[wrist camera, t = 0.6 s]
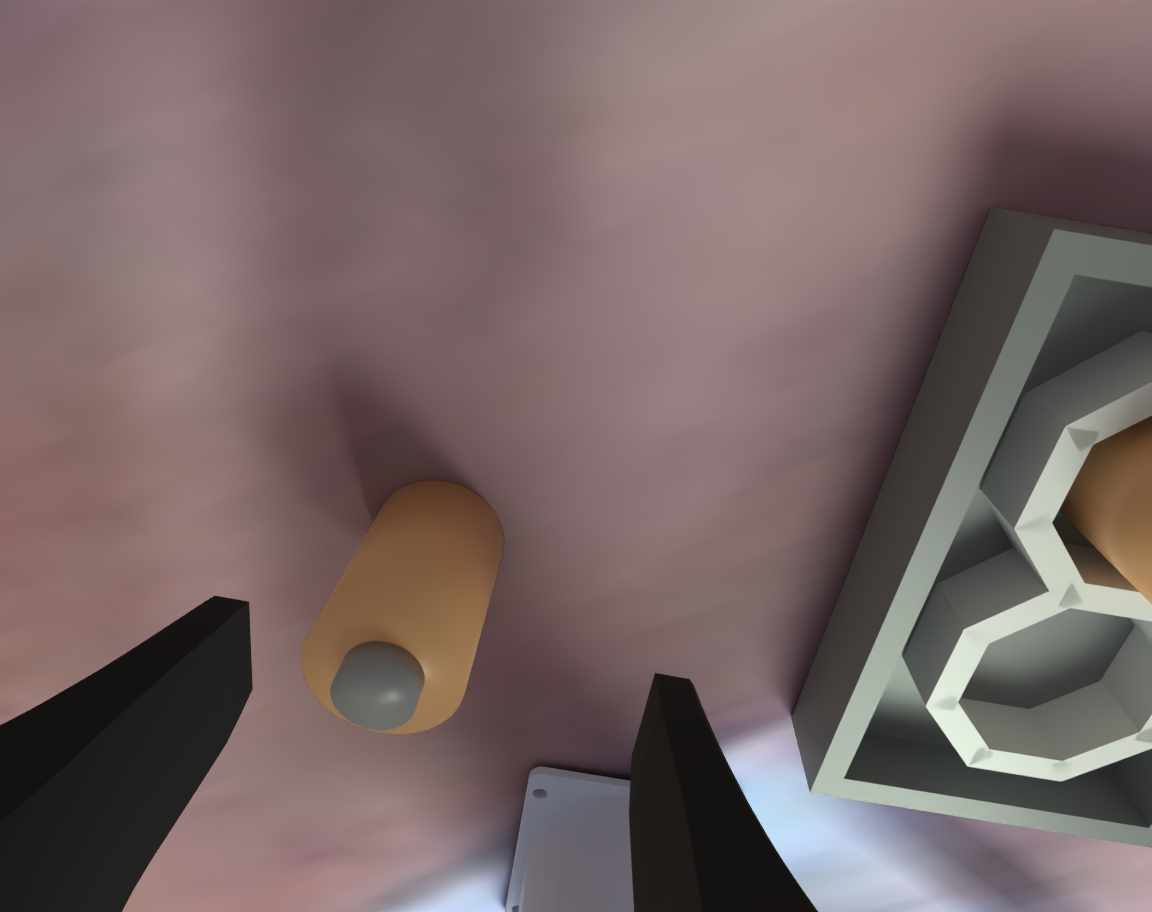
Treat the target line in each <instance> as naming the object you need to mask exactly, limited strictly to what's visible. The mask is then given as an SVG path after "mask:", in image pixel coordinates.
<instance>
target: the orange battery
mask: <svg viewBox="0 0 1152 912" xmlns="http://www.w3.org/2000/svg"><path fill="white" fill-rule="evenodd" d="M503 550H504V532H503V529H502V525H501V523H500V520H499V518H498V516H497V515H496V513H495V512H494V510H493V509H492V508H491V506H490V505H489V504H488V503H487V502H486V501H485V500H484V499H483V498H481V497H480V496H479V495H478V494H476V493H474V492H473V491H471V490H469V489H467V488H465V487H463V486H461V485H458V484H455V483H451V482H446V481H439V480H426V481H419V482H415V483H411V484H409V485H406V486H404V487H402V488H400V489H399V490H397V491H396V492H394V493H393V494H392V495H391V496H390V497H389V498H388V499H387V500H386V502H385V503H384V505H383V506H382V508H381V509H380V511H379V513H378V515H377V516H376V518H375V520H374V521H373V523H372V525H371V527H370V528H369V530H368V532H367V534H366V535H365V537H364V539H363V540H362V542H361V544H360V546H359V547H358V549H357V551H356V552H355V554H354V556H353V558H352V559H351V561H350V563H349V565H348V566H347V568H346V570H345V571H344V573H343V575H342V577H341V578H340V580H339V582H338V584H337V585H336V587H335V589H334V590H333V592H332V594H331V596H330V597H329V599H328V601H327V602H326V604H325V606H324V608H323V609H322V611H321V613H320V615H319V616H318V618H317V620H316V621H315V623H314V625H313V627H312V628H311V630H310V632H309V633H308V635H307V637H306V639H305V641H304V644H303V647H302V651H301V667H302V672H303V675H304V678H305V680H306V683H307V685H308V687H309V688H310V690H311V691H312V693H313V694H314V695H315V697H316V698H317V699H318V700H319V701H320V702H321V703H322V704H323V705H324V706H325V707H326V708H327V709H328V710H329V711H331V712H332V713H333V714H335V715H336V716H338V717H339V718H341V719H343V720H345V721H347V722H348V723H350V724H353V725H355V726H358V727H360V728H363V729H366V730H370V731H374V732H379V733H386V734H411V733H417V732H422V731H425V730H428V729H431V728H433V727H435V726H438V725H439V724H441V723H443V722H444V721H446V720H447V719H448V718H449V717H451V716H452V715H453V714H454V712H455V711H456V710H457V709H458V707H459V706H460V704H461V702H462V700H463V697H464V695H465V691H466V687H467V684H468V680H469V676H470V673H471V669H472V665H473V662H474V658H475V654H476V650H477V647H478V643H479V639H480V636H481V632H482V628H483V625H484V621H485V617H486V613H487V610H488V606H489V602H490V599H491V595H492V591H493V588H494V584H495V580H496V576H497V573H498V569H499V565H500V562H501V558H502V554H503Z"/></svg>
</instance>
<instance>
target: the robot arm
mask: <svg viewBox="0 0 1152 912" xmlns="http://www.w3.org/2000/svg"><path fill="white" fill-rule="evenodd" d="M251 691H252V664H251V639H250V614H249V602H247V601H242V600H236V599H230V598H225V597H219V596H213V597H212V598H210V599H209V600H207V601H205V602H204V603H202V604H201V605H199V606H198V607H196V608H195V609H193V610H191V611H190V612H188V613H187V614H185V615H184V616H182V617H181V618H179V619H178V620H176V621H175V622H173V623H172V624H170V625H169V626H167V627H166V628H164V629H163V630H161V631H159V632H158V633H156V634H155V635H153V636H152V637H150V638H149V639H147V640H146V641H144V642H143V643H141V644H140V645H138V646H136V647H135V648H133V649H132V650H130V651H128V652H127V653H125V654H124V655H122V656H121V657H119V658H117V659H116V660H114V661H113V662H111V663H110V664H108V665H106V666H105V667H103V668H102V669H100V670H98V671H97V672H95V673H93V674H92V675H90V676H88V677H86V678H85V679H83V680H81V681H80V682H78V683H76V684H74V685H73V686H71V687H69V688H67V689H66V690H64V691H62V692H61V693H59V694H57V695H55V696H54V697H52V698H50V699H49V700H47V701H45V702H43V703H42V704H40V705H38V706H36V707H34V708H32V709H31V710H29V711H27V712H25V713H23V714H21V715H19V716H17V717H15V718H14V719H12V720H10V721H8V722H6V723H4V724H2V725H0V912H122V910H123V908H124V906H125V905H126V903H127V901H128V899H129V897H130V895H131V893H132V891H133V890H134V888H135V886H136V885H137V883H138V881H139V880H140V878H141V876H142V874H143V873H144V871H145V869H146V868H147V866H148V864H149V863H150V861H151V860H152V858H153V857H154V855H155V854H156V852H157V850H158V849H159V847H160V846H161V844H162V843H163V841H164V840H165V838H166V837H167V835H168V833H169V832H170V830H171V829H172V827H173V826H174V824H175V823H176V821H177V820H178V818H179V816H180V815H181V813H182V812H183V810H184V809H185V807H186V806H187V804H188V803H189V801H190V800H191V798H192V796H193V795H194V793H195V792H196V790H197V789H198V787H199V786H200V784H201V782H202V781H203V779H204V778H205V776H206V775H207V773H208V772H209V770H210V768H211V767H212V765H213V764H214V762H215V761H216V759H217V757H218V756H219V754H220V753H221V751H222V749H223V748H224V746H225V745H226V743H227V741H228V739H229V737H230V735H231V733H232V731H233V729H234V727H235V725H236V723H237V721H238V719H239V717H240V715H241V713H242V710H243V708H244V706H245V704H246V702H247V700H248V698H249V695H250V693H251ZM505 912H818V911H817V910H816V908H815V907H814V905H813V904H812V903H811V901H810V900H809V898H808V897H807V896H806V894H805V893H804V891H803V890H802V889H801V887H800V886H799V884H798V883H797V881H796V880H795V878H794V877H793V875H792V874H791V872H790V871H789V869H788V868H787V866H786V865H785V863H784V862H783V860H782V859H781V857H780V855H779V854H778V852H777V851H776V849H775V847H774V846H773V844H772V843H771V841H770V839H769V838H768V836H767V834H766V833H765V831H764V829H763V827H762V826H761V824H760V822H759V821H758V819H757V817H756V815H755V814H754V812H753V810H752V808H751V807H750V805H749V803H748V801H747V799H746V797H745V796H744V794H743V792H742V790H741V788H740V786H739V784H738V782H737V780H736V778H735V776H734V774H733V772H732V770H731V768H730V766H729V765H728V763H727V761H726V759H725V756H724V754H723V752H722V750H721V748H720V746H719V744H718V742H717V739H716V737H715V735H714V733H713V731H712V728H711V726H710V724H709V722H708V719H707V717H706V715H705V712H704V710H703V708H702V705H701V703H700V700H699V698H698V695H697V693H696V690H695V687H694V685H693V684H692V682H691V681H690V679H686V678H680V677H674V676H669V675H663V674H657V673H655V675H654V679H653V682H652V686H651V690H650V693H649V697H648V700H647V704H646V707H645V711H644V714H643V718H642V721H641V725H640V728H639V732H638V736H637V739H636V743H635V746H634V750H633V753H632V763H631V780H630V781H629V780H623V779H617V778H610V777H604V776H598V775H592V774H586V773H580V772H573V771H567V770H561V769H555V768H549V767H537V768H534V769H533V770H531V772H530V774H529V778H528V784H527V790H526V795H525V801H524V806H523V812H522V818H521V823H520V829H519V835H518V840H517V846H516V851H515V857H514V863H513V868H512V874H511V880H510V885H509V891H508V897H507V902H506V908H505Z"/></svg>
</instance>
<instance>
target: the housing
mask: <svg viewBox="0 0 1152 912" xmlns="http://www.w3.org/2000/svg"><path fill="white" fill-rule="evenodd" d="M791 719H792V723H793V727H794V731H795V735H796V739H797V743H798V747H799V751H800V755H801V759H802V763H803V767H804V771H805V775H806V779H807V783H808V787H809V791H810V792H811V793H817V794H823V795H830V796H836V797H842V798H848V799H854V800H860V801H867V802H873V803H879V804H885V805H891V806H898V807H904V808H910V809H916V810H922V811H928V812H935V813H941V814H947V815H953V816H959V817H965V818H972V819H978V820H984V821H990V822H996V823H1003V824H1009V825H1015V826H1021V827H1027V828H1033V829H1040V830H1046V831H1052V832H1058V833H1064V834H1070V835H1077V836H1083V837H1089V838H1095V839H1101V840H1108V841H1114V842H1120V843H1126V844H1132V845H1138V846H1145V847H1151V848H1152V234H1151V233H1145V232H1139V231H1133V230H1127V229H1121V228H1116V227H1110V226H1104V225H1098V224H1092V223H1086V222H1080V221H1074V220H1069V219H1063V218H1057V217H1051V216H1045V215H1039V214H1033V213H1027V212H1022V211H1016V210H1010V209H1004V208H998V207H992V206H991V208H990V210H989V213H988V216H987V218H986V221H985V223H984V226H983V228H982V231H981V233H980V236H979V239H978V241H977V244H976V246H975V249H974V251H973V254H972V257H971V259H970V262H969V264H968V267H967V269H966V272H965V274H964V277H963V280H962V282H961V285H960V287H959V290H958V292H957V295H956V297H955V300H954V303H953V305H952V308H951V310H950V313H949V315H948V318H947V321H946V323H945V326H944V328H943V331H942V333H941V336H940V338H939V341H938V344H937V346H936V349H935V351H934V354H933V356H932V359H931V361H930V364H929V367H928V369H927V372H926V374H925V377H924V379H923V382H922V385H921V387H920V390H919V392H918V395H917V397H916V400H915V402H914V405H913V408H912V410H911V413H910V415H909V418H908V420H907V423H906V425H905V428H904V431H903V433H902V436H901V438H900V441H899V443H898V446H897V449H896V451H895V454H894V456H893V459H892V461H891V464H890V466H889V469H888V472H887V474H886V477H885V479H884V482H883V484H882V487H881V489H880V492H879V495H878V497H877V500H876V502H875V505H874V507H873V510H872V513H871V515H870V518H869V520H868V523H867V525H866V528H865V530H864V533H863V536H862V538H861V541H860V543H859V546H858V548H857V551H856V553H855V556H854V559H853V561H852V564H851V566H850V569H849V571H848V574H847V577H846V579H845V582H844V584H843V587H842V589H841V592H840V594H839V597H838V600H837V602H836V605H835V607H834V610H833V612H832V615H831V617H830V620H829V623H828V625H827V628H826V630H825V633H824V635H823V638H822V641H821V643H820V646H819V648H818V651H817V653H816V656H815V658H814V661H813V664H812V666H811V669H810V671H809V674H808V676H807V679H806V681H805V684H804V687H803V689H802V692H801V694H800V697H799V699H798V702H797V705H796V707H795V710H794V712H793V715H792V717H791Z"/></svg>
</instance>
